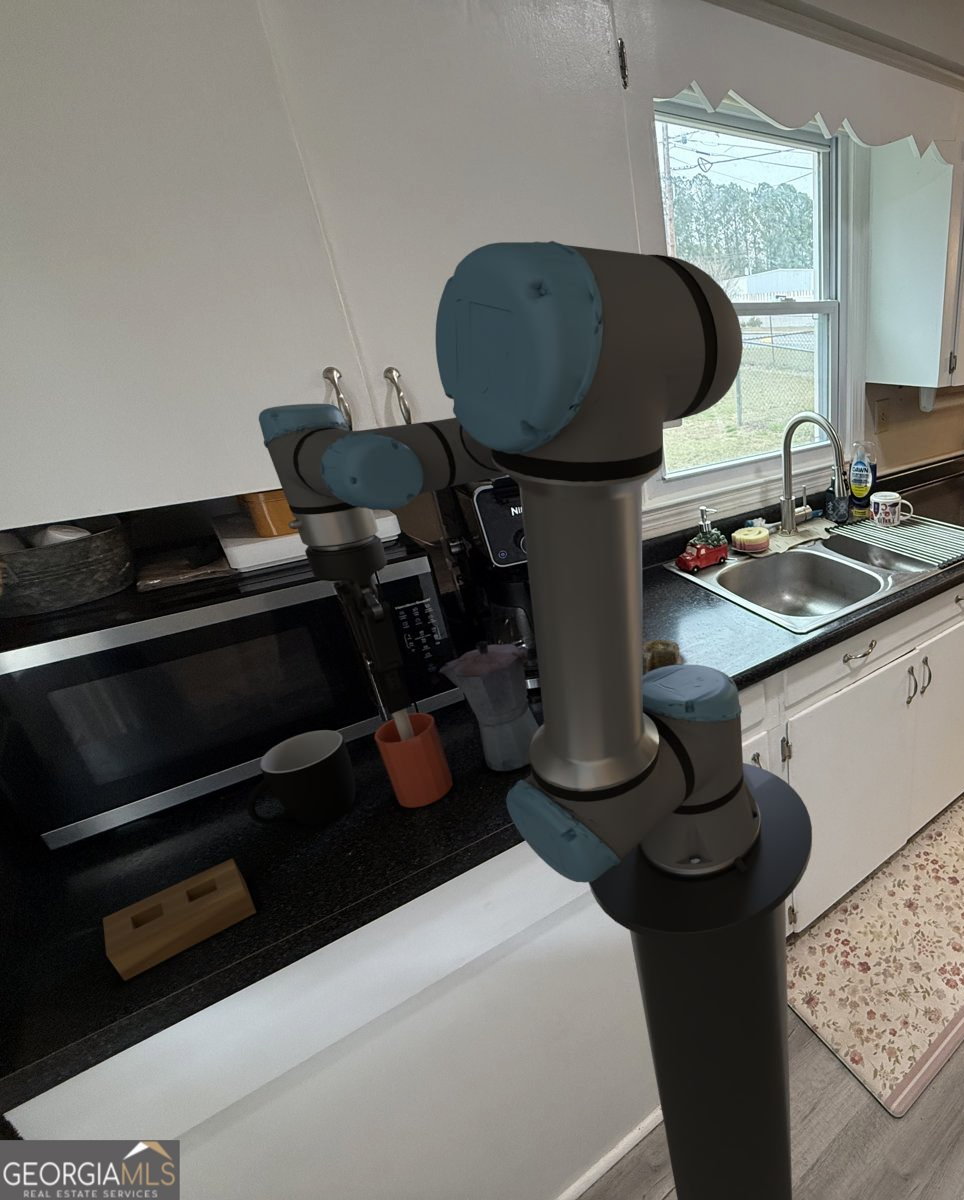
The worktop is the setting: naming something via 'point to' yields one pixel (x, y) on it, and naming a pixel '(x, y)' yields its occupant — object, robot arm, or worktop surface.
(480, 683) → the moka pot
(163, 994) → the worktop surface
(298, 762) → the mug
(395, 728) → the cup
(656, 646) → the cake
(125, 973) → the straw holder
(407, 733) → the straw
